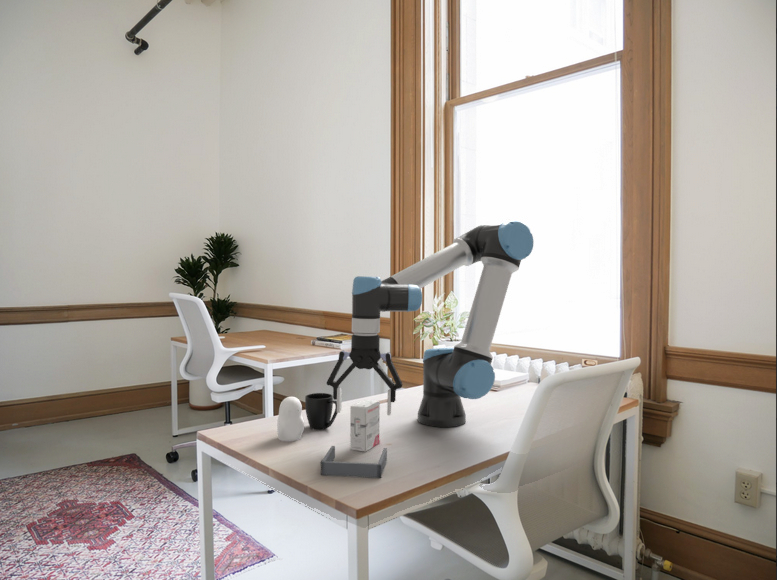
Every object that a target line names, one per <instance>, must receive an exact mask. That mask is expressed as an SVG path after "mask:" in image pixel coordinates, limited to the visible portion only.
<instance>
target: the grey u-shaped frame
mask: <svg viewBox="0 0 777 580" xmlns="http://www.w3.org/2000/svg"><path fill="white" fill-rule="evenodd" d="M335 458H336V446H335V445H331V446H330V448H329V449H328V451H327V452H326V453H325V455H324V457H323V458H322V460H321V461H320V475H321V476H329V477H330V476H332V477H354V478H355V477H357V478H373V479H376V478H377V479H381V478H382V475H383V474H384V470H385V467H386V464H387V461H388V448H387V447H384V448H383V449H382V452H381V454H380V457H379V460H378V462H377V463H376V462H375V463H374V462H373V463H371V462H356V461H355V462H351V461H334V460H335Z"/></svg>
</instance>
